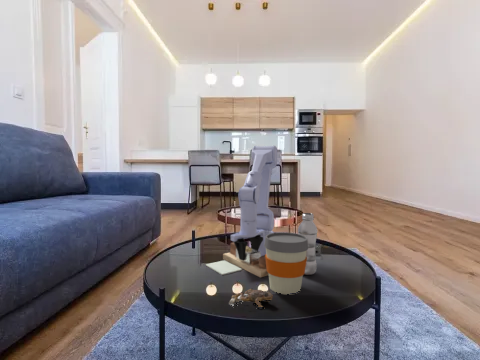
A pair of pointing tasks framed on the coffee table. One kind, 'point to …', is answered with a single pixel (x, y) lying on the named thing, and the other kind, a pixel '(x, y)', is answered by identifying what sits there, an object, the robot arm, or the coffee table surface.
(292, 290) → the reusable coffee cup
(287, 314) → the coffee table surface
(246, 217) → the robot arm
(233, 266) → the felt pad
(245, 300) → the frog figurine
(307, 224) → the plastic bottle
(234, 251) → the hand plane
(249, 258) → the brass-inlaid steel block
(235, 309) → the coffee table surface
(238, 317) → the coffee table surface
